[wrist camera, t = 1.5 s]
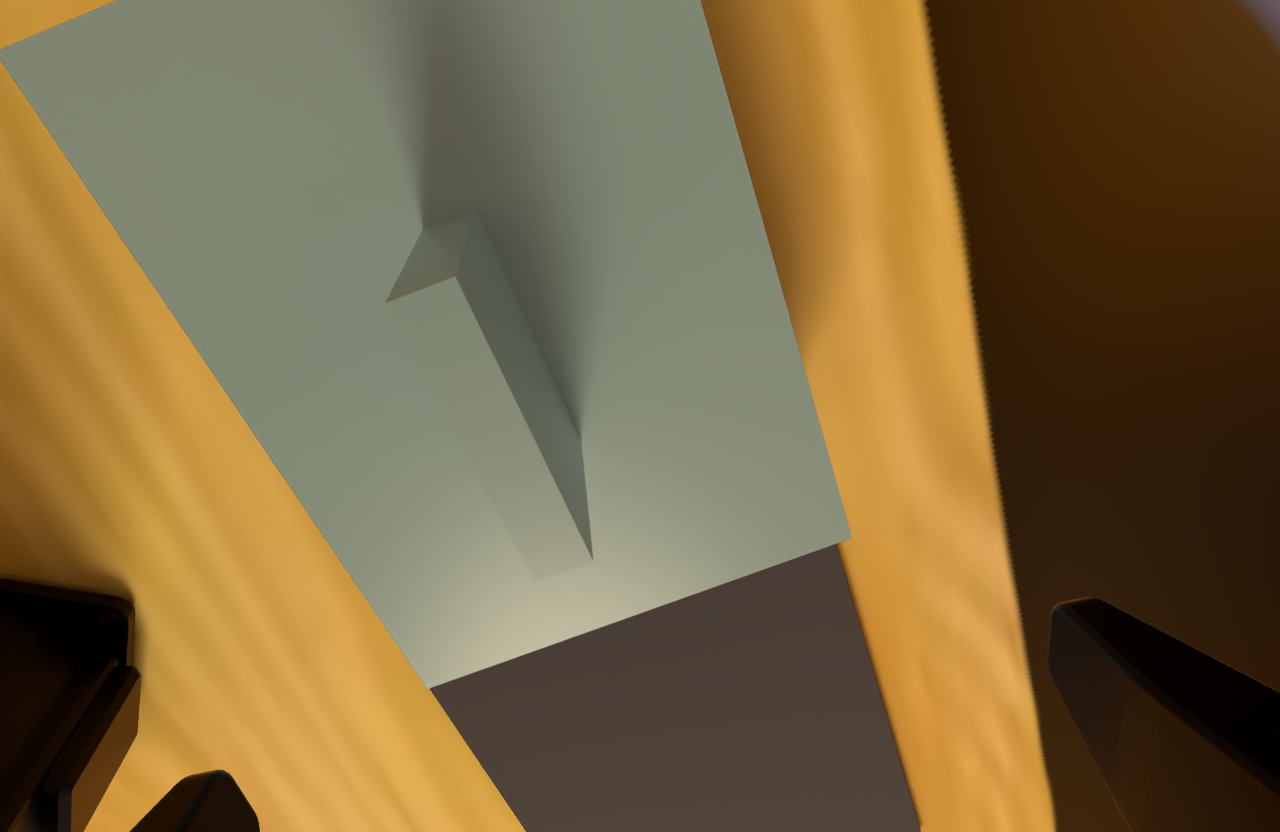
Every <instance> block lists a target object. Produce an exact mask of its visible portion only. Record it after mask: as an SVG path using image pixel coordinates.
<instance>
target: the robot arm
mask: <svg viewBox="0 0 1280 832" xmlns="http://www.w3.org/2000/svg"><path fill="white" fill-rule="evenodd" d="M107 613H110V614H113V615H115V616H116V617H117V618H114V617H111V616H109V615H108V614H107ZM134 625H135V610H134V607H133V606H132V605H131V604H130V603H129V602H128V601H126V600H125V599H123V598H119V597H116V596H109V595H102V594H96V593H89V592H83V591H76V590H70V589H63V588H57V587H50V586H43V585H37V584H30V583H24V582H17V581H11V580H4V579H0V832H84V830H85V828H86V826H87V825H88V823H89V821H90V819H91V817H92V816H93V814H94V812H95V810H96V808H97V806H98V805H99V803H100V801H101V799H102V797H103V796H104V794H105V792H106V790H107V788H108V786H109V785H110V783H111V781H112V779H113V777H114V776H115V774H116V772H117V770H118V768H119V767H120V765H121V763H122V761H123V759H124V758H125V756H126V754H127V752H128V750H129V748H130V746H131V745H132V743H133V741H134V739H135V737H136V735H137V732H138V717H139V703H140V688H141V674H140V672H139V670H138V669H137V667H135V666H132V657H133V641H134ZM1048 665H1049V670H1050V673H1051V676H1052V678H1053V681H1054V683H1055V685H1056V687H1057V689H1058V691H1059V693H1060V695H1061V697H1062V699H1063V701H1064V703H1065V705H1066V707H1067V709H1068V711H1069V713H1070V715H1071V716H1072V719H1073V721H1074V722H1075V725H1076V726H1077V728H1078V730H1079V732H1080V734H1081V736H1082V738H1083V740H1084V742H1085V744H1086V746H1087V748H1088V750H1089V752H1090V754H1091V756H1092V758H1093V760H1094V762H1095V764H1096V766H1097V768H1098V770H1099V772H1100V774H1101V776H1102V778H1103V780H1104V781H1105V784H1106V785H1107V787H1108V789H1109V791H1110V793H1111V795H1112V797H1113V799H1114V801H1115V803H1116V804H1117V806H1118V808H1119V810H1120V812H1121V814H1122V816H1123V817H1124V819H1125V821H1126V822H1127V824H1128V825H1129V827H1130V829H1131V831H1132V832H1280V692H1278V691H1276V690H1274V689H1272V688H1270V687H1268V686H1266V685H1264V684H1262V683H1261V682H1259V681H1257V680H1255V679H1253V678H1251V677H1249V676H1247V675H1245V674H1243V673H1241V672H1239V671H1238V670H1235V669H1233V668H1232V667H1230V666H1228V665H1226V664H1224V663H1222V662H1220V661H1218V660H1216V659H1214V658H1213V657H1211V656H1209V655H1207V654H1205V653H1203V652H1201V651H1199V650H1197V649H1195V648H1193V647H1191V646H1189V645H1188V644H1186V643H1184V642H1182V641H1180V640H1178V639H1176V638H1174V637H1172V636H1170V635H1168V634H1166V633H1164V632H1163V631H1161V630H1158V629H1157V628H1155V627H1153V626H1151V625H1149V624H1147V623H1145V622H1143V621H1141V620H1139V619H1137V618H1135V617H1134V616H1132V615H1130V614H1128V613H1126V612H1124V611H1122V610H1120V609H1118V608H1116V607H1114V606H1113V605H1111V604H1109V603H1107V602H1105V601H1103V600H1100V599H1098V598H1094V597H1085V598H1081V599H1075V600H1071V601H1065V602H1060V603H1058V604H1056V605H1055V606H1054V608H1053V610H1052V614H1051V624H1050V636H1049V650H1048ZM130 832H260V828H259V822H258V818H257V815H256V813H255V812H254V810H253V808H252V807H251V805H250V804H249V802H248V801H247V799H246V798H245V796H244V794H243V793H242V791H241V790H240V788H239V787H238V785H237V783H236V782H235V780H234V779H233V777H232V776H231V775H230V773H228V772H226V771H224V770H214V771H209V772H204V773H199V774H194V775H190V776H188V777H185V778H184V779H182V780H181V781H179V782H178V783H177V784H176V785H175V786H174V787H173V788H172V789H171V790H170V791H169V792H168V793H167V794H166V795H165V796H164V797H163V798H162V799H161V800H160V801H159V802H158V803H157V804H156V805H155V806H154V807H153V808H152V809H151V810H150V811H149V812H148V813H147V814H146V815H145V816H144V817H143V818H142V820H141V821H140V822H139V823H138V824H137V825H136V826H135V827H134V828H133V829H132V830H131V831H130Z"/></svg>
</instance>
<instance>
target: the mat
mask: <svg viewBox="0 0 1280 832" xmlns="http://www.w3.org/2000/svg"><path fill="white" fill-rule="evenodd" d="M430 690H431V691H432V693H433V694H434V696H435V697H436V699H437V700H438V702H439V703H440V705H441V706H442V708H443V709H444V711H445V712H446V714H447V715H448V717H449V718H450V720H451V721H452V722H453V724H454V725H455V727H456V728H457V730H458V731H459V733H460V734H461V736H462V737H463V739H464V740H465V742H466V743H467V745H468V746H469V748H470V749H471V751H472V752H473V754H474V755H475V757H476V758H477V759H478V761H479V762H480V764H481V765H482V767H483V768H484V770H485V771H486V773H487V774H488V776H489V777H490V779H491V780H492V782H493V783H494V785H495V786H496V788H497V789H498V791H499V792H500V794H501V795H502V796H503V798H504V799H505V801H506V802H507V804H508V805H509V807H510V808H511V810H512V811H513V813H514V814H515V816H516V817H517V819H518V820H519V822H520V823H521V825H522V826H523V828H524V829H525V831H526V832H921V831H920V827H919V824H918V820H917V817H916V814H915V810H914V807H913V803H912V800H911V797H910V793H909V790H908V787H907V783H906V780H905V776H904V773H903V770H902V766H901V763H900V759H899V756H898V753H897V749H896V746H895V742H894V739H893V736H892V732H891V729H890V726H889V722H888V719H887V715H886V712H885V709H884V705H883V702H882V698H881V695H880V692H879V688H878V685H877V681H876V678H875V675H874V671H873V668H872V665H871V661H870V658H869V654H868V651H867V648H866V644H865V641H864V637H863V634H862V631H861V627H860V624H859V620H858V617H857V614H856V610H855V607H854V604H853V600H852V597H851V593H850V590H849V587H848V583H847V580H846V576H845V573H844V570H843V566H842V563H841V559H840V556H839V553H838V549H837V546H836V544H834V545H831V546H828V547H825V548H823V549H820V550H817V551H814V552H811V553H809V554H806V555H803V556H800V557H797V558H795V559H792V560H789V561H786V562H783V563H780V564H778V565H775V566H772V567H769V568H766V569H764V570H761V571H758V572H755V573H752V574H750V575H747V576H744V577H741V578H738V579H735V580H733V581H730V582H727V583H724V584H721V585H719V586H716V587H713V588H710V589H707V590H705V591H702V592H699V593H696V594H693V595H690V596H688V597H685V598H682V599H679V600H676V601H674V602H671V603H668V604H665V605H662V606H660V607H657V608H654V609H651V610H648V611H645V612H643V613H640V614H637V615H634V616H631V617H629V618H626V619H623V620H620V621H617V622H615V623H612V624H609V625H606V626H603V627H600V628H598V629H595V630H592V631H589V632H586V633H584V634H581V635H578V636H575V637H572V638H569V639H567V640H564V641H561V642H558V643H555V644H553V645H550V646H547V647H544V648H541V649H539V650H536V651H533V652H530V653H527V654H524V655H522V656H519V657H516V658H513V659H510V660H508V661H505V662H502V663H499V664H496V665H494V666H491V667H488V668H485V669H482V670H479V671H477V672H474V673H471V674H468V675H465V676H463V677H460V678H457V679H454V680H451V681H449V682H446V683H443V684H440V685H437V686H434V687H432V688H430Z"/></svg>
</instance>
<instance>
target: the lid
mask: <svg viewBox="0 0 1280 832" xmlns="http://www.w3.org/2000/svg"><path fill="white" fill-rule="evenodd" d="M0 60H1V62H2V63H3V65H4V66H5V68H6V69H7V71H8V72H9V74H10V75H11V77H12V78H13V80H14V81H15V82H16V84H17V85H18V87H19V88H20V90H21V91H22V93H23V94H24V96H25V97H26V99H27V100H28V102H29V103H30V105H31V106H32V108H33V109H34V110H35V112H36V113H37V115H38V116H39V118H40V119H41V121H42V122H43V124H44V125H45V127H46V128H47V130H48V131H49V133H50V134H51V136H52V137H53V138H54V140H55V141H56V143H57V144H58V146H59V147H60V149H61V150H62V152H63V153H64V155H65V156H66V158H67V159H68V161H69V162H70V164H71V165H72V167H73V168H74V169H75V171H76V172H77V174H78V175H79V177H80V178H81V180H82V181H83V183H84V184H85V186H86V187H87V189H88V190H89V192H90V193H91V195H92V196H93V197H94V199H95V200H96V202H97V203H98V205H99V206H100V208H101V209H102V211H103V212H104V214H105V215H106V217H107V218H108V220H109V221H110V223H111V224H112V225H113V227H114V228H115V230H116V231H117V233H118V234H119V236H120V237H121V239H122V240H123V242H124V243H125V245H126V246H127V248H128V249H129V251H130V252H131V253H132V255H133V256H134V258H135V259H136V261H137V262H138V264H139V265H140V267H141V268H142V270H143V271H144V273H145V274H146V276H147V277H148V279H149V280H150V281H151V283H152V284H153V286H154V287H155V289H156V290H157V292H158V293H159V295H160V296H161V298H162V299H163V301H164V302H165V304H166V305H167V307H168V308H169V309H170V311H171V312H172V314H173V315H174V317H175V318H176V320H177V321H178V323H179V324H180V326H181V327H182V329H183V330H184V332H185V333H186V335H187V336H188V337H189V339H190V340H191V342H192V343H193V345H194V346H195V348H196V349H197V351H198V352H199V354H200V355H201V357H202V358H203V360H204V361H205V363H206V364H207V366H208V367H209V368H210V370H211V371H212V373H213V374H214V376H215V377H216V379H217V380H218V382H219V383H220V385H221V386H222V388H223V389H224V391H225V392H226V394H227V395H228V396H229V398H230V399H231V401H232V402H233V404H234V405H235V407H236V408H237V410H238V411H239V413H240V414H241V416H242V417H243V419H244V420H245V422H246V423H247V424H248V426H249V427H250V429H251V430H252V432H253V433H254V435H255V436H256V438H257V439H258V441H259V442H260V444H261V445H262V447H263V448H264V450H265V451H266V452H267V454H268V455H269V457H270V458H271V460H272V461H273V463H274V464H275V466H276V467H277V469H278V470H279V472H280V473H281V475H282V476H283V478H284V479H285V480H286V482H287V483H288V485H289V486H290V488H291V489H292V491H293V492H294V494H295V495H296V497H297V498H298V500H299V501H300V503H301V504H302V506H303V507H304V508H305V510H306V511H307V513H308V514H309V516H310V517H311V519H312V520H313V522H314V523H315V525H316V526H317V528H318V529H319V531H320V532H321V534H322V535H323V537H324V538H325V539H326V541H327V542H328V544H329V545H330V547H331V548H332V550H333V551H334V553H335V554H336V556H337V557H338V559H339V560H340V562H341V563H342V565H343V566H344V567H345V569H346V570H347V572H348V573H349V575H350V576H351V578H352V579H353V581H354V582H355V584H356V585H357V587H358V588H359V590H360V591H361V593H362V594H363V595H364V597H365V598H366V600H367V601H368V603H369V604H370V606H371V607H372V609H373V610H374V612H375V613H376V615H377V616H378V618H379V619H380V621H381V622H382V623H383V625H384V626H385V628H386V629H387V631H388V632H389V634H390V635H391V637H392V638H393V640H394V641H395V643H396V644H397V646H398V647H399V649H400V650H401V651H402V653H403V654H404V656H405V657H406V659H407V660H408V662H409V663H410V665H411V666H412V668H413V669H414V671H415V672H416V674H417V675H418V677H419V678H420V679H421V681H422V682H423V684H424V685H425V687H426V688H427V689H429V688H432V687H434V686H437V685H440V684H443V683H446V682H449V681H451V680H454V679H457V678H460V677H463V676H465V675H468V674H471V673H474V672H477V671H479V670H482V669H485V668H488V667H491V666H494V665H496V664H499V663H502V662H505V661H508V660H510V659H513V658H516V657H519V656H522V655H524V654H527V653H530V652H533V651H536V650H539V649H541V648H544V647H547V646H550V645H553V644H555V643H558V642H561V641H564V640H567V639H569V638H572V637H575V636H578V635H581V634H584V633H586V632H589V631H592V630H595V629H598V628H600V627H603V626H606V625H609V624H612V623H615V622H617V621H620V620H623V619H626V618H629V617H631V616H634V615H637V614H640V613H643V612H645V611H648V610H651V609H654V608H657V607H660V606H662V605H665V604H668V603H671V602H674V601H676V600H679V599H682V598H685V597H688V596H690V595H693V594H696V593H699V592H702V591H705V590H707V589H710V588H713V587H716V586H719V585H721V584H724V583H727V582H730V581H733V580H735V579H738V578H741V577H744V576H747V575H750V574H752V573H755V572H758V571H761V570H764V569H766V568H769V567H772V566H775V565H778V564H780V563H783V562H786V561H789V560H792V559H795V558H797V557H800V556H803V555H806V554H809V553H811V552H814V551H817V550H820V549H823V548H825V547H828V546H831V545H834V544H837V543H840V542H842V541H845V540H848V539H851V538H852V536H851V533H850V529H849V526H848V522H847V518H846V515H845V511H844V508H843V504H842V501H841V497H840V494H839V490H838V486H837V483H836V479H835V476H834V472H833V469H832V465H831V462H830V458H829V455H828V451H827V447H826V444H825V440H824V437H823V433H822V430H821V426H820V423H819V419H818V415H817V412H816V408H815V405H814V401H813V398H812V394H811V391H810V387H809V384H808V380H807V376H806V373H805V369H804V366H803V362H802V359H801V355H800V352H799V348H798V344H797V341H796V337H795V334H794V330H793V327H792V323H791V320H790V316H789V313H788V309H787V305H786V302H785V298H784V295H783V291H782V288H781V284H780V281H779V277H778V273H777V270H776V266H775V263H774V259H773V256H772V252H771V249H770V245H769V241H768V238H767V234H766V231H765V227H764V224H763V220H762V217H761V213H760V210H759V206H758V202H757V199H756V195H755V192H754V188H753V185H752V181H751V178H750V174H749V170H748V167H747V163H746V160H745V156H744V153H743V149H742V146H741V142H740V139H739V135H738V131H737V128H736V124H735V121H734V117H733V114H732V110H731V107H730V103H729V99H728V96H727V92H726V89H725V85H724V82H723V78H722V75H721V71H720V68H719V64H718V60H717V57H716V53H715V50H714V46H713V43H712V39H711V36H710V32H709V28H708V25H707V21H706V18H705V14H704V11H703V7H702V4H701V0H117V1H114V2H112V3H110V4H107V5H105V6H102V7H100V8H98V9H95V10H93V11H90V12H88V13H86V14H83V15H81V16H78V17H76V18H74V19H71V20H69V21H67V22H64V23H62V24H59V25H57V26H55V27H52V28H50V29H47V30H45V31H43V32H40V33H38V34H35V35H33V36H31V37H28V38H26V39H23V40H21V41H19V42H16V43H14V44H11V45H9V46H7V47H4V48H2V49H0Z"/></svg>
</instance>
